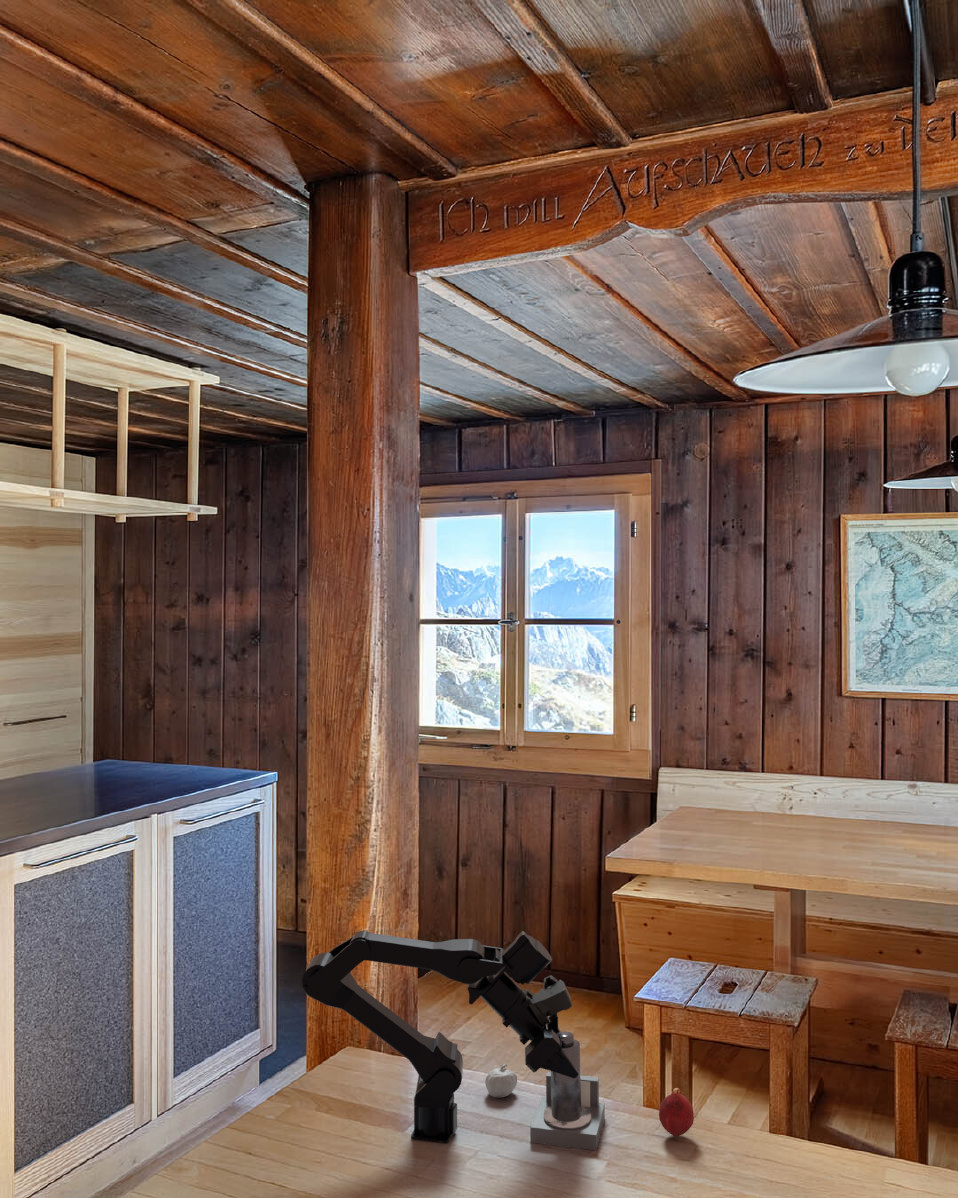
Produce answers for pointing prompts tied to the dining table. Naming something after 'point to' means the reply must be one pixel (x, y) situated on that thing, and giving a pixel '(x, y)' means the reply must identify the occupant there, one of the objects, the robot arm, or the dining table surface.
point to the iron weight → (567, 1083)
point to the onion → (676, 1113)
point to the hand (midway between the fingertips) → (575, 1067)
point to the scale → (571, 1138)
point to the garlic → (501, 1082)
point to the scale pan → (572, 1125)
